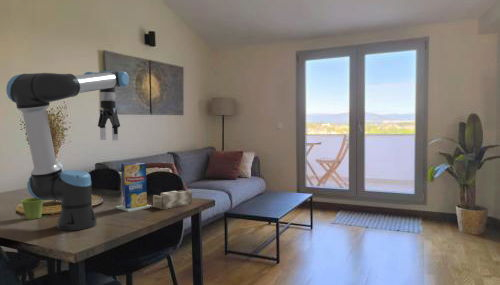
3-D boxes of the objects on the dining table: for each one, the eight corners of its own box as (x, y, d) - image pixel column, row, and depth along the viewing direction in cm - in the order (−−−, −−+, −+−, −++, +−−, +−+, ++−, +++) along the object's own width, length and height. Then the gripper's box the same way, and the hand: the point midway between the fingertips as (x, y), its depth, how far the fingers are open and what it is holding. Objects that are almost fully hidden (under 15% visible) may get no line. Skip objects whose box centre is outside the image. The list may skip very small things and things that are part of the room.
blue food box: (147, 205, 187) (146, 163, 186) (125, 208, 181) (124, 165, 180) (143, 203, 193) (142, 162, 191) (122, 205, 187) (121, 163, 186)
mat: (128, 211, 177) (128, 210, 177) (116, 207, 186) (115, 206, 186) (151, 207, 187) (151, 205, 187) (138, 203, 196) (138, 202, 196)
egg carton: (163, 209, 182) (163, 195, 181) (153, 206, 188) (152, 193, 188) (191, 203, 195) (191, 190, 195) (181, 201, 201) (180, 188, 201)
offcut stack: (164, 205, 186) (164, 194, 186) (159, 204, 190) (158, 193, 189) (183, 201, 195) (183, 191, 195) (177, 200, 198) (177, 190, 198)
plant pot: (40, 220, 163) (39, 201, 163) (17, 221, 162) (17, 202, 161) (48, 215, 173) (47, 197, 172) (27, 216, 171) (26, 197, 171)
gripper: (126, 99, 187) (127, 140, 189) (103, 101, 204) (104, 139, 205) (112, 99, 182) (113, 140, 183) (90, 101, 199) (91, 139, 200)
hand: (109, 140), depth 194 cm, fingers open, 13 cm apart
